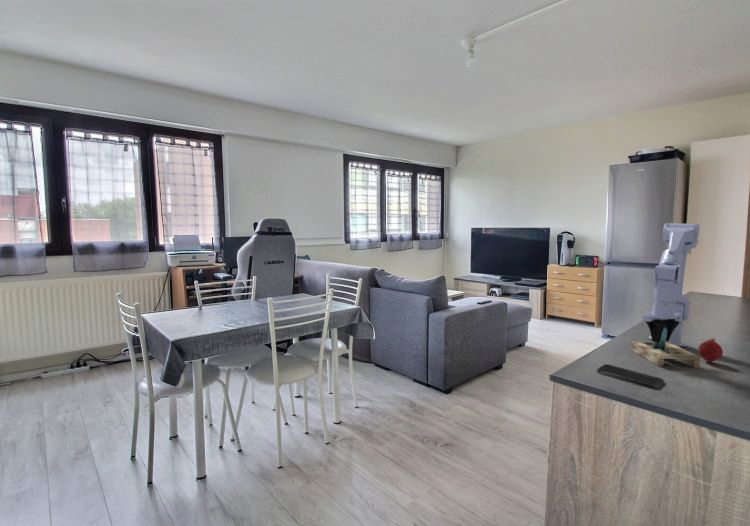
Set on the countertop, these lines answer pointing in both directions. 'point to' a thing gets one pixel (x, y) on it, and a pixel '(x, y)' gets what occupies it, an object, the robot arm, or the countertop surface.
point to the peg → (662, 341)
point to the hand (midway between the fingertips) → (660, 341)
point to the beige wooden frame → (659, 355)
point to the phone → (631, 376)
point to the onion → (710, 350)
